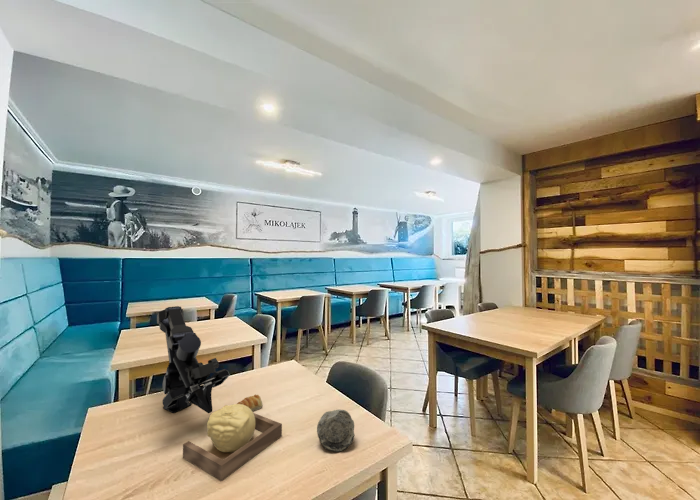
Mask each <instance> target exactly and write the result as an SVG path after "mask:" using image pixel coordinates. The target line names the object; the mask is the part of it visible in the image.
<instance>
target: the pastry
mask: <svg viewBox="0 0 700 500" xmlns="http://www.w3.org/2000/svg"><path fill="white" fill-rule="evenodd" d="M236 404H242V405H245V406H247V407H249V408H250V409H251V410H252V412H256V411H258V410H260V409H262V407H263V405H264V404H263V401H262V399H261V396H260V395H259V394H254V395H251V396H246V397H244V398H243V399H242V400H240V401H238V402H237V403H236Z"/></svg>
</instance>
